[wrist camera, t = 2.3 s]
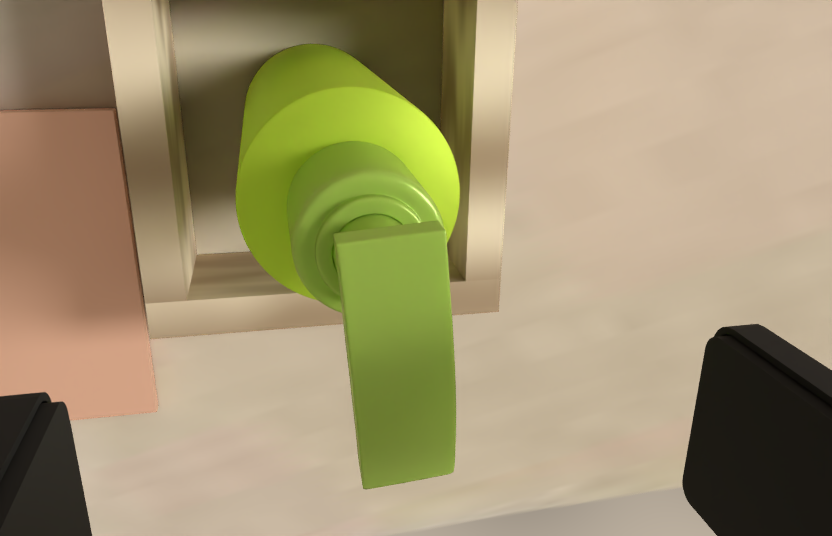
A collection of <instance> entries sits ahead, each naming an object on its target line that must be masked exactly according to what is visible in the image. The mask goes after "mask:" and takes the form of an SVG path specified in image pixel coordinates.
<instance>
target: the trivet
mask: <svg viewBox="0 0 832 536" xmlns="http://www.w3.org/2000/svg"><path fill="white" fill-rule="evenodd" d="M39 392H46V393H47V394H48V395H49V397H50V399H51V401H52V402H61V401H63V402H64V403H65V404H66V406H67V410H68V414H69V419H70V420H79V419H89V418H100V417H110V416H120V415H130V414H140V413H151V412H157V409H158V398H157V391H156V384H155V377H154V370H153V363H152V356H151V350H150V343H149V336H148V329H147V322H146V315H145V308H144V301H143V294H142V287H141V280H140V273H139V266H138V259H137V252H136V245H135V238H134V231H133V224H132V217H131V210H130V203H129V196H128V189H127V182H126V175H125V168H124V161H123V154H122V147H121V140H120V133H119V126H118V119H117V112H116V108H90V109H39V110H0V396H8V395H18V394H29V393H39Z"/></svg>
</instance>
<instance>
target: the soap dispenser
mask: <svg viewBox="0 0 832 536" xmlns="http://www.w3.org/2000/svg"><path fill="white" fill-rule="evenodd" d="M459 201H460V183H459V175H458V170H457V166H456V162H455V159H454V156H453V154H452V151H451V149H450V147H449V145H448V143H447V141H446V139H445V138H444V136H443V135H442V133H441V132H440V130H439V129H438V128H437V126H436V125H435V124H434V123H433V122H432V121H431V120H430V119H429V118H428V117H427V116H426V115H425V114H424V113H423V112H422V111H421V110H419V109H418V108H417V107H416V106H414V105H413V104H412V103H411V102H409V101H408V100H407V99H406V98H404V97H403V96H402V95H401V94H399V93H398V92H397V91H395V90H394V89H393V88H392V87H390V86H389V85H388V84H387V83H385V82H384V81H383V80H382V79H380V78H379V77H378V76H377V75H375V74H374V73H373V72H372V71H370V70H369V69H368V68H367V67H365V66H364V65H363V64H362V63H360V62H359V61H358V60H357V59H355V58H354V57H352V56H351V55H349V54H348V53H346V52H344V51H342V50H340V49H337V48H334V47H331V46H327V45H321V44H304V45H298V46H294V47H291V48H288V49H285V50H283V51H281V52H279V53H277V54H276V55H274V56H273V57H272V58H270V59H269V60H268V61H267V62H266V63H265V64H264V65H263V66H262V67H261V68H260V69H259V70H258V72H257V73H256V75H255V76H254V78H253V80H252V81H251V84H250V86H249V88H248V91H247V95H246V99H245V107H244V116H243V125H242V135H241V144H240V154H239V163H238V173H237V182H236V211H237V217H238V222H239V226H240V229H241V232H242V235H243V237H244V240H245V242H246V244H247V246H248V248H249V250H250V251H251V253H252V254H253V256H254V257H255V259H256V260H257V261H258V263H259V264H260V265H261V266H262V267H263V269H264V270H265V271H266V272H267V273H268V274H269V275H271V276H272V277H273V278H274V279H275V280H277V281H278V282H279V283H281V284H282V285H284V286H285V287H287V288H289V289H290V290H292V291H294V292H296V293H298V294H300V295H303V296H305V297H308V298H311V299H315V300H318V301H320V302H321V303H322V304H324V305H326V306H327V307H329V308H331V309H333V310H335V311H338V312H341V313H342V316H343V325H344V333H345V342H346V350H347V359H348V368H349V376H350V385H351V394H352V403H353V412H354V420H355V429H356V439H357V450H358V459H359V466H360V473H361V479H362V485H363V489H372V488H378V487H383V486H389V485H394V484H400V483H405V482H411V481H416V480H421V479H426V478H432V477H437V476H442V475H447V474H450V473H452V472H453V471H454V465H455V443H456V385H455V361H454V342H453V325H452V309H451V294H450V280H449V265H448V251H447V242H448V240H449V238H450V236H451V234H452V231H453V229H454V226H455V223H456V219H457V215H458V210H459Z"/></svg>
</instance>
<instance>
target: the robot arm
mask: <svg viewBox="0 0 832 536" xmlns="http://www.w3.org/2000/svg"><path fill="white" fill-rule="evenodd" d="M683 490H684V493H685V496H686V498H687V500H688V502H689V503H690V505H691V506H692V507H693V508H694V509H695V510H696V511H697V513H698V514H699V515H700V516H701V517H702V519H704V521H705V522H706V523H707V524H708V526H709V527H710V528H711V529H712V530H713V531H714V533H715V534H716V535H717V536H832V370H830V369H828V368H827V367H825V366H824V365H822V364H821V363H819V362H818V361H816V360H815V359H813V358H811V357H810V356H808V355H807V354H805V353H804V352H802V351H801V350H799V349H798V348H796V347H794V346H793V345H791V344H790V343H788V342H787V341H785V340H784V339H782V338H781V337H779V336H777V335H776V334H774V333H773V332H771V331H770V330H768V329H767V328H765V327H764V326H761V325H759V324H751V325H741V326H730V327H722V328H721V329H719V330H718V331H717V332H716V334H715V336H714V337H713V338H711V339H709V341H708V342H707V344H706V348H705V353H704V359H703V365H702V370H701V376H700V382H699V388H698V393H697V399H696V405H695V411H694V416H693V422H692V428H691V434H690V439H689V445H688V451H687V457H686V462H685V468H684V474H683ZM0 536H92V533H91V528H90V522H89V517H88V512H87V507H86V502H85V497H84V491H83V486H82V481H81V476H80V471H79V465H78V460H77V455H76V450H75V445H74V440H73V434H72V429H71V424H70V419H69V414H68V410H67V406H66V404H65V403H64V402H63V401H61V402H52V401H51V399H50V397H49V395H48V394H47V393H46V392H39V393H29V394H18V395H8V396H0Z"/></svg>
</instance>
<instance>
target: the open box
mask: <svg viewBox="0 0 832 536" xmlns="http://www.w3.org/2000/svg"><path fill="white" fill-rule="evenodd" d="M102 6H103V13H104V20H105V27H106V34H107V41H108V48H109V55H110V62H111V69H112V76H113V83H114V90H115V97H116V104H117V111H118V118H119V125H120V132H121V139H122V146H123V153H124V160H125V167H126V174H127V181H128V188H129V195H130V202H131V209H132V216H133V223H134V230H135V237H136V244H137V251H138V258H139V265H140V272H141V279H142V286H143V293H144V300H145V307H146V314H147V321H148V328H149V335H150V339H159V338H172V337H185V336H197V335H210V334H222V333H235V332H248V331H260V330H273V329H286V328H298V327H311V326H324V325H336V324H343V316H342V313H341V312H338V311H335V310H333V309H331V308H329V307H327V306H326V305H324V304H322V303H321V302H320V301H318V300H315V299H311V298H308V297H305V296H303V295H300V294H298V293H296V292H294V291H292V290H290V289H289V288H287V287H285V286H284V285H282V284H281V283H279V282H278V281H277V280H275V279H274V278H273V277H272V276H271V275H269V274H268V273H267V272H266V271H265V270H264V269H263V267H262V266H261V265H260V264H259V263H258V261H257V260H256V259H255V257H254V256H253V254H252V253H251V252H237V253H220V254H202V255H197V252H196V243H195V234H194V225H193V216H192V207H191V198H190V189H189V179H188V170H187V161H186V152H185V143H184V134H183V125H182V116H181V106H180V97H179V88H178V79H177V70H176V61H175V52H174V43H173V33H172V24H171V15H170V6H169V0H102ZM517 6H518V0H444V11H443V50H442V89H441V129H440V132H441V133H442V135H443V136H444V138H445V139H446V141H447V143H448V145H449V147H450V149H451V151H452V154H453V156H454V159H455V162H456V166H457V170H458V175H459V183H460V201H459V210H458V215H457V219H456V223H455V226H454V229H453V231H452V234H451V236H450V238H449V240H448V242H447V251H448V265H449V280H450V294H451V309H452V315H463V314H475V313H488V312H499V297H500V281H501V265H502V249H503V232H504V216H505V200H506V184H507V168H508V151H509V135H510V119H511V103H512V87H513V70H514V54H515V38H516V22H517Z"/></svg>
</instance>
